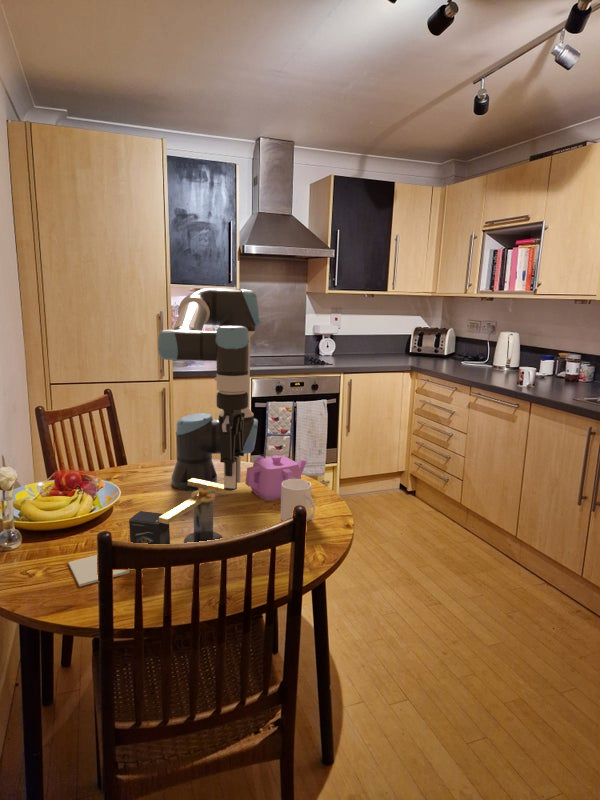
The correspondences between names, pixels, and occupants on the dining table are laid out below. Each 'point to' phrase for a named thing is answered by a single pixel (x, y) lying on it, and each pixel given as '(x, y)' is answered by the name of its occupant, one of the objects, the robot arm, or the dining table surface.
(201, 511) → the post
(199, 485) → the crank
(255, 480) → the teakettle
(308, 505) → the mug
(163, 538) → the box
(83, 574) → the pad
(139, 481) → the dining table surface
